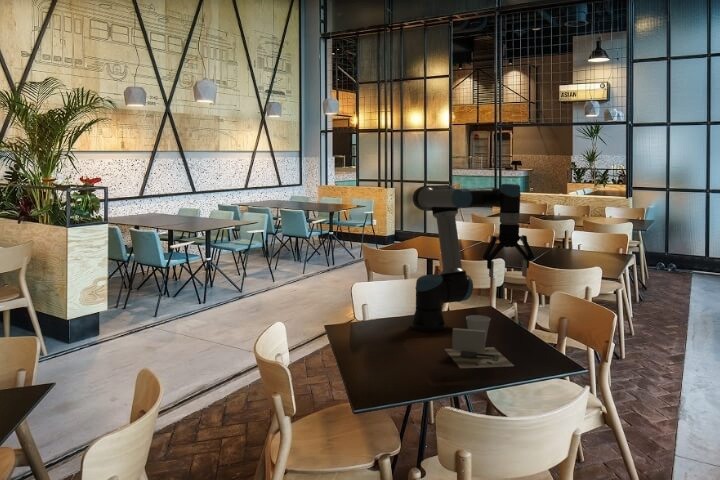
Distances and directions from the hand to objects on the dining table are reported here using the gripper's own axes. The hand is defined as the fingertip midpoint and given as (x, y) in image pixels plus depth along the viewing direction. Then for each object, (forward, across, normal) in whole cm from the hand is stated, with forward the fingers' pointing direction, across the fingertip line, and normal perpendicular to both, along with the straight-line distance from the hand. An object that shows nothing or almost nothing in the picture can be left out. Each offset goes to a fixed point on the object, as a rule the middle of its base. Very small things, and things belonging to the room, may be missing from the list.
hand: (507, 277), depth 234 cm
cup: (+29, -10, +5) cm, 31 cm away
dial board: (+29, -16, -14) cm, 36 cm away
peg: (+28, -17, -13) cm, 35 cm away
